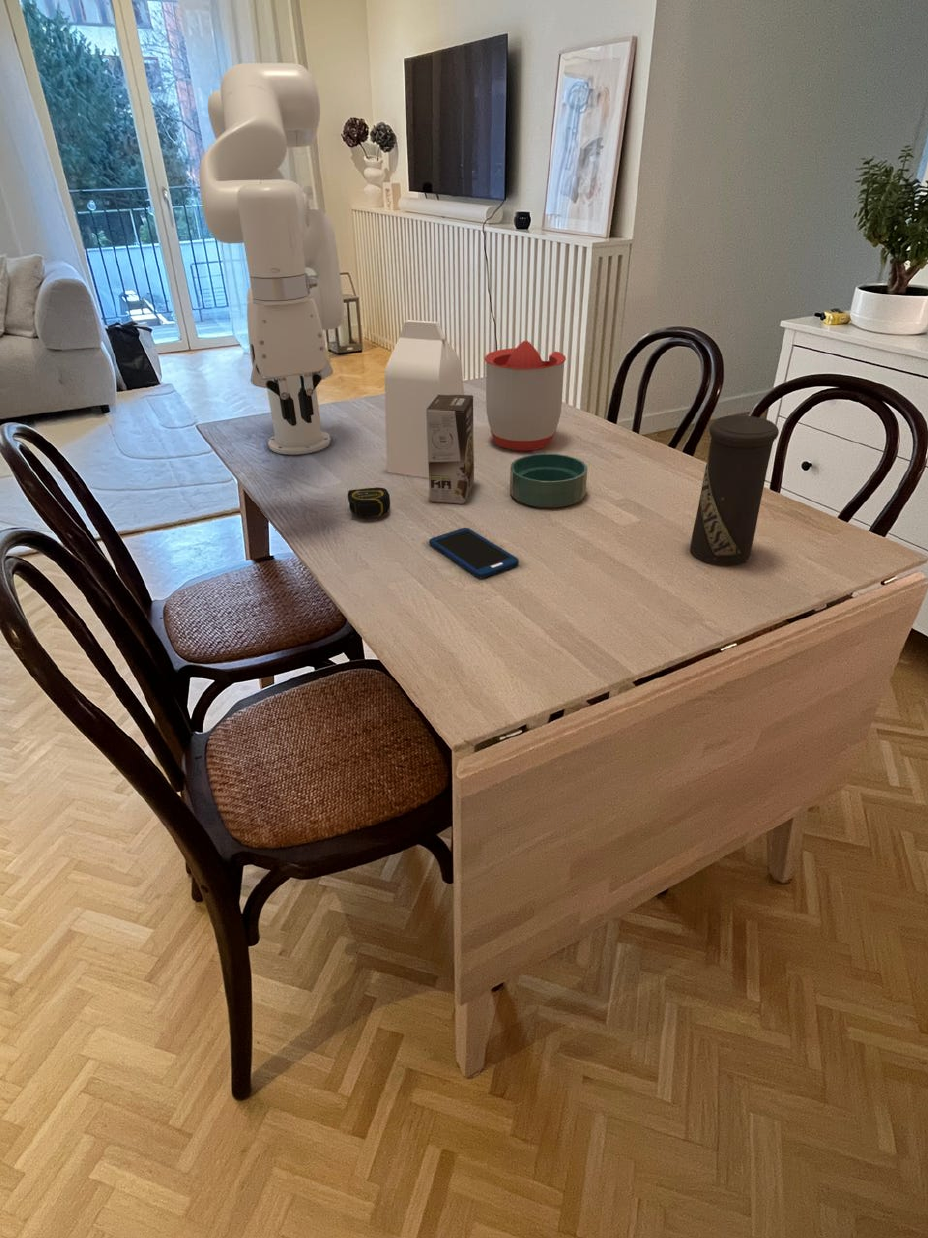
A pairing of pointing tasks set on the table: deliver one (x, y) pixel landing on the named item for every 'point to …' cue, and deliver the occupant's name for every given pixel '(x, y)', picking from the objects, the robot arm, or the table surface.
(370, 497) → the tape measure
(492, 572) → the cell phone
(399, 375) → the milk
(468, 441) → the coffee box
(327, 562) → the table surface
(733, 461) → the container
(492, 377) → the citrus juicer
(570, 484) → the green bowl
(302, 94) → the robot arm
